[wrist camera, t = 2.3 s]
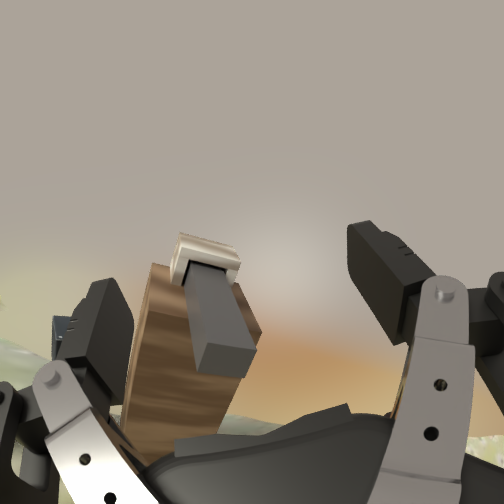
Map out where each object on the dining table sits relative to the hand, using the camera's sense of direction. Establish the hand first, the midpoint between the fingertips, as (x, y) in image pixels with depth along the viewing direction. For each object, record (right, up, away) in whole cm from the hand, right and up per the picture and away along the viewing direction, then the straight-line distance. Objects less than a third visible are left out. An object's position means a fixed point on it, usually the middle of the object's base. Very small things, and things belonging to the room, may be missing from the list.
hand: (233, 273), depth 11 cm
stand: (-16, -33, +35) cm, 51 cm away
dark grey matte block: (-4, -6, +22) cm, 24 cm away
